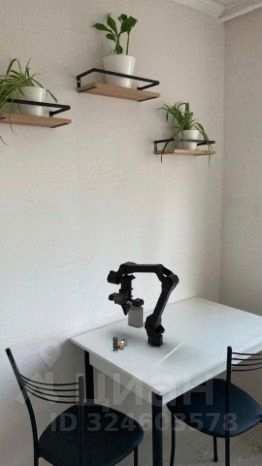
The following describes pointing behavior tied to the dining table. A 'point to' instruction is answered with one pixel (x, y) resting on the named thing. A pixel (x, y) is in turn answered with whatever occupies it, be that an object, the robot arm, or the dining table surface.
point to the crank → (118, 342)
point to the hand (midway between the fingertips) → (125, 315)
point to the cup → (135, 317)
